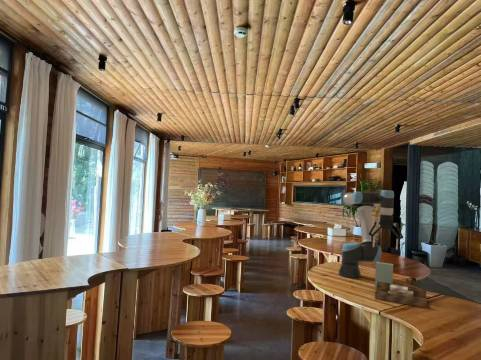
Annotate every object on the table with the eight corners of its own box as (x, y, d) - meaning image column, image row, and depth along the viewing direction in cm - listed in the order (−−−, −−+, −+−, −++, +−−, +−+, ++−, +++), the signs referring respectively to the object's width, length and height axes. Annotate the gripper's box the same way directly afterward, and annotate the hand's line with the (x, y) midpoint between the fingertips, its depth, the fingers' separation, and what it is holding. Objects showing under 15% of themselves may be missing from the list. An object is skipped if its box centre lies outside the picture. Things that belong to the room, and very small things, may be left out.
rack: (374, 298, 195) (375, 287, 195) (377, 291, 208) (377, 281, 208) (426, 308, 183) (427, 295, 183) (425, 300, 197) (425, 288, 197)
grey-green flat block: (374, 287, 217) (375, 262, 217) (375, 286, 219) (376, 261, 219) (392, 290, 213) (393, 264, 213) (392, 289, 215) (393, 264, 215)
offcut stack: (387, 297, 194) (388, 286, 194) (388, 294, 199) (388, 284, 200) (413, 301, 188) (413, 290, 188) (413, 298, 194) (413, 288, 194)
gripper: (365, 213, 219) (363, 246, 219) (408, 216, 208) (406, 251, 208) (366, 212, 226) (364, 244, 226) (408, 215, 215) (406, 249, 214)
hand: (385, 247), depth 217 cm, fingers open, 13 cm apart
